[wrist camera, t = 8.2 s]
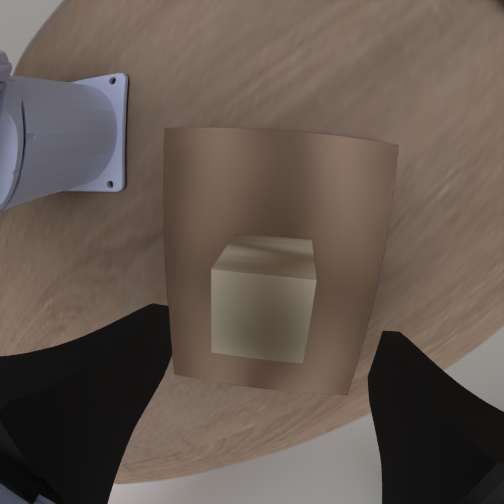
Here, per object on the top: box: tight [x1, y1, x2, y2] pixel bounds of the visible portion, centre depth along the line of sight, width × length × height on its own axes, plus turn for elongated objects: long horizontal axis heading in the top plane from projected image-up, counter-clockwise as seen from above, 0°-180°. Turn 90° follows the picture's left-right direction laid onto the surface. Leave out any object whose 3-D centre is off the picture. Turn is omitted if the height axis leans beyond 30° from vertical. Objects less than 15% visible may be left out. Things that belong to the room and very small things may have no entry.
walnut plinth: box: [164, 128, 399, 395], centre depth 19 cm, size 12×16×3 cm
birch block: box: [211, 233, 317, 364], centre depth 15 cm, size 4×4×5 cm
